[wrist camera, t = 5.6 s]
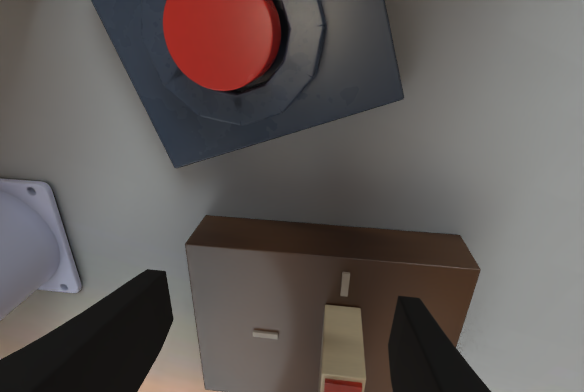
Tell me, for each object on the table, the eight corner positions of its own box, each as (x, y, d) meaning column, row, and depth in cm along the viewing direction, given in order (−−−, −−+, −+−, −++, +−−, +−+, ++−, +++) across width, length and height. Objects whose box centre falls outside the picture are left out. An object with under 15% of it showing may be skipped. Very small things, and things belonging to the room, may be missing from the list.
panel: (219, 350, 25) (203, 392, 22) (205, 214, 20) (183, 245, 17) (422, 374, 23) (434, 422, 20) (460, 234, 18) (482, 271, 16)
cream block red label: (351, 377, 20) (353, 460, 16) (319, 373, 20) (314, 454, 16) (360, 307, 17) (367, 384, 14) (324, 303, 18) (321, 379, 14)
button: (208, 96, 14) (191, 105, 12) (167, -3, 12) (142, -8, 11) (294, 65, 13) (288, 70, 11) (260, -45, 11) (247, -56, 10)
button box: (188, 157, 18) (157, 184, 15) (97, -32, 15) (34, -48, 12) (398, 92, 16) (413, 108, 13) (346, -157, 12) (349, -221, 9)
